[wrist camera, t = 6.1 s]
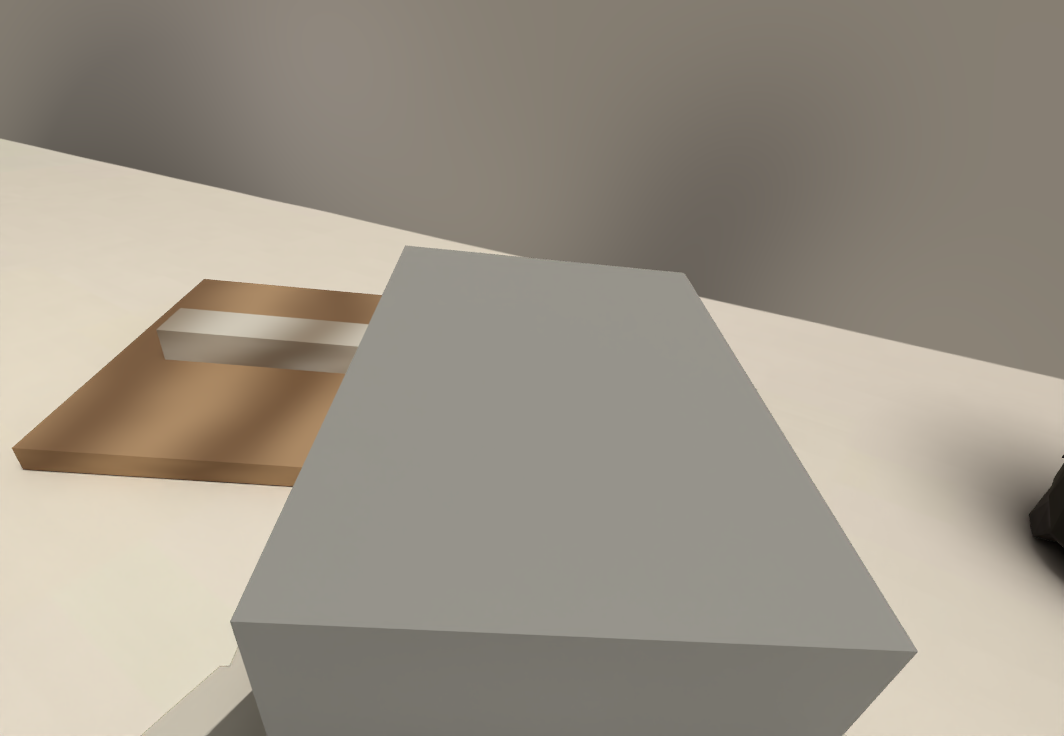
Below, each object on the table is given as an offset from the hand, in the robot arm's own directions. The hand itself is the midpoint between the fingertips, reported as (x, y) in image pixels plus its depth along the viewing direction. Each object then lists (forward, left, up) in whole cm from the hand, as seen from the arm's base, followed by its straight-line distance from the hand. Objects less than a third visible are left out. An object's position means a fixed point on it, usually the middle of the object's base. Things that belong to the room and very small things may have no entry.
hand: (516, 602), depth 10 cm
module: (0, 0, -7) cm, 7 cm away
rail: (-3, +16, -7) cm, 17 cm away
